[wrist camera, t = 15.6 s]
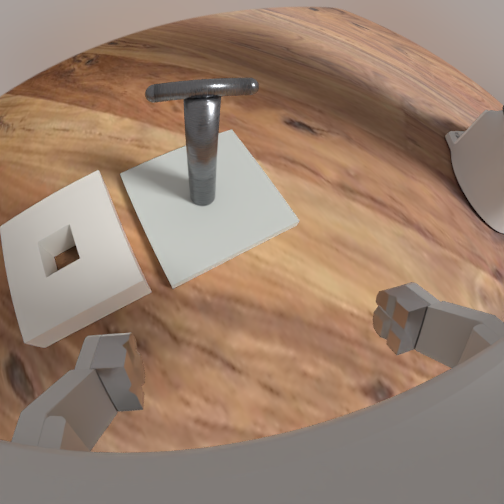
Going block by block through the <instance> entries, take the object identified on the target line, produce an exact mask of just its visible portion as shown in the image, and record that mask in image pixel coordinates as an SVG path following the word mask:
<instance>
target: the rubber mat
mask: <svg viewBox="0 0 504 504" xmlns="http://www.w3.org/2000/svg"><path fill="white" fill-rule="evenodd" d="M120 175H121V178H122V181H123V183H124V185H125V188H126V190H127V193H128V195H129V197H130V200H131V202H132V204H133V206H134V209H135V211H136V213H137V215H138V218H139V220H140V222H141V224H142V226H143V229H144V231H145V233H146V235H147V237H148V239H149V242H150V244H151V246H152V248H153V250H154V252H155V254H156V256H157V258H158V260H159V262H160V264H161V266H162V268H163V270H164V272H165V274H166V276H167V278H168V280H169V282H170V284H171V286H172V288H173V289H174V288H176V287H178V286H179V285H181V284H183V283H185V282H187V281H189V280H191V279H193V278H195V277H197V276H199V275H201V274H203V273H205V272H207V271H209V270H211V269H213V268H215V267H216V266H218V265H220V264H222V263H224V262H226V261H228V260H230V259H232V258H234V257H236V256H238V255H240V254H242V253H244V252H246V251H248V250H250V249H252V248H254V247H256V246H257V245H259V244H261V243H263V242H265V241H267V240H269V239H271V238H273V237H275V236H277V235H279V234H281V233H283V232H285V231H287V230H289V229H291V228H293V227H295V226H297V224H298V223H299V219H298V218H297V216H296V215H295V214H294V212H293V211H292V209H291V208H290V207H289V205H288V204H287V202H286V201H285V200H284V198H283V197H282V195H281V194H280V193H279V191H278V190H277V189H276V187H275V186H274V184H273V183H272V182H271V180H270V179H269V178H268V176H267V175H266V174H265V172H264V171H263V170H262V168H261V167H260V166H259V164H258V163H257V162H256V160H255V159H254V158H253V156H252V155H251V154H250V152H249V151H248V150H247V148H246V147H245V146H244V145H243V143H242V142H241V141H240V139H239V138H238V137H237V135H236V134H235V133H234V132H233V130H232V129H231V130H228V131H225V132H222V133H219V134H218V150H217V170H216V192H215V199H214V201H213V202H212V203H211V204H209V205H207V206H198V205H196V204H194V203H193V202H192V201H191V198H190V189H189V177H188V165H187V151H186V146H184V147H181V148H179V149H176V150H174V151H171V152H169V153H166V154H164V155H161V156H159V157H156V158H154V159H152V160H149V161H147V162H145V163H142V164H140V165H138V166H136V167H133V168H131V169H129V170H127V171H125V172H122V173H120Z"/></svg>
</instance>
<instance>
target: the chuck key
mask: <svg viewBox="0 0 504 504" xmlns="http://www.w3.org/2000/svg"><path fill="white" fill-rule="evenodd" d="M258 89H259V84H258V82H257V81H256V80H255V79H253V78H219V79H202V80H190V81H179V82H170V83H161V84H154V85H151V86H149V87H148V88H147V90H146V92H145V97H146V99H147V100H148V101H150V102H162V101H170V100H179V99H184V119H185V136H186V151H187V165H188V177H189V189H190V198H191V201H192V202H193V203H194V204H196V205H198V206H207V205H209V204H211V203H212V202H213V201H214V199H215V192H216V170H217V150H218V133H219V118H220V103H221V96H237V95H253V94H255V93H256V92H257V91H258Z"/></svg>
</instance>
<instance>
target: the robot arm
mask: <svg viewBox="0 0 504 504" xmlns="http://www.w3.org/2000/svg"><path fill="white" fill-rule="evenodd" d="M445 137H446V140H447V143H448V145H449V147H450V150H451V159H452V165H453V169H454V172H455V175H456V178H457V180H458V182H459V184H460V186H461V188H462V190H463V192H464V194H465V195H466V197H467V199H468V200H469V202H470V203H471V205H472V206H473V208H474V209H475V210H476V211H477V213H478V214H479V215H480V216H481V217H482V219H483V220H484V221H485V222H486V223H487V224H488V225H490V226H491V227H492V228H493V229H495V230H496V231H498V232H500V233H503V234H504V106H503V110H501V111H493V110H490V111H488V110H485V111H484V112H483V113H482V114H481V115H480V116H479V117H478V118H477V119H476V120H475V121H474V122H473V123H472V124H471V126H470V127H469V128H468V129H467V130H466V131H450V132H448V133H447V134H446V135H445ZM376 303H377V305H378V307H377V309H376V310H375V311H374V314H373V326H374V329H375V331H376V333H377V334H378V335H379V336H380V337H382V338H384V339H387V345H388V346H389V348H390V349H391V350H392V351H393V352H394V353H395V354H396V355H399V354H402V353H405V352H408V351H410V350H413V349H415V350H416V351H418V352H420V353H422V354H424V355H426V356H428V357H430V358H432V359H434V360H436V361H438V362H440V363H442V364H444V365H446V366H448V367H450V368H451V369H450V370H448V371H446V372H444V373H442V374H440V375H438V376H436V377H434V378H432V379H430V380H428V381H426V382H424V383H422V384H420V385H418V386H416V387H414V388H412V389H409V390H407V391H405V392H403V393H400V394H398V395H396V396H394V397H391V398H389V399H386V400H384V401H381V402H379V403H376V404H374V405H371V406H369V407H366V408H363V409H361V410H358V411H355V412H352V413H349V414H347V415H344V416H341V417H338V418H335V419H331V420H328V421H325V422H322V423H318V424H315V425H312V426H308V427H304V428H301V429H297V430H293V431H289V432H285V433H281V434H277V435H272V436H268V437H263V438H259V439H254V440H248V441H243V442H237V443H232V444H225V445H219V446H212V447H204V448H195V449H186V450H174V451H160V452H133V453H113V452H90V451H91V449H92V448H93V447H94V445H95V444H96V442H97V441H98V440H99V438H100V437H101V435H102V434H103V433H104V431H105V430H106V428H107V427H108V426H109V424H110V423H111V421H112V420H113V419H114V417H115V416H116V414H117V411H132V410H143V405H144V392H143V389H142V385H143V384H144V383H145V370H144V364H143V360H142V357H141V354H139V353H138V352H137V351H136V345H137V343H136V340H135V337H134V335H133V334H132V333H119V334H104V335H91V336H87V337H86V338H85V340H84V343H83V346H82V348H81V351H80V354H79V357H78V360H77V363H76V366H75V369H74V370H70V371H68V372H67V373H66V374H65V375H64V376H62V377H61V378H60V379H59V380H58V381H57V382H55V383H54V384H53V385H52V386H51V387H49V388H48V389H47V390H46V391H45V392H44V393H42V394H41V395H40V396H39V397H38V398H37V399H35V400H34V401H33V402H32V403H31V404H30V405H29V406H27V407H26V408H25V409H24V410H23V411H22V412H21V414H20V417H19V420H18V423H17V426H16V429H15V432H14V435H13V438H12V441H11V442H9V441H5V440H0V504H504V322H502V321H501V320H500V319H498V318H497V317H496V316H495V315H492V314H488V313H485V312H481V311H477V310H474V309H470V308H467V307H463V306H459V305H456V304H452V303H449V302H445V301H442V302H440V301H439V300H437V299H436V298H435V297H434V296H432V295H431V294H430V293H428V292H427V291H426V290H424V289H423V288H422V287H420V286H419V285H418V284H416V283H413V282H411V283H407V284H404V285H401V286H398V287H394V288H390V289H386V290H382V291H379V293H378V295H377V298H376Z"/></svg>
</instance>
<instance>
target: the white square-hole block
mask: <svg viewBox="0 0 504 504" xmlns="http://www.w3.org/2000/svg"><path fill="white" fill-rule="evenodd" d="M0 234H1V242H2V249H3V256H4V262H5V268H6V273H7V278H8V283H9V288H10V293H11V297H12V301H13V305H14V309H15V313H16V317H17V320H18V324H19V327H20V331H21V334H22V337H23V340H24V343H25V344H29V345H33V346H38V347H42V348H46V347H48V346H50V345H51V344H53V343H55V342H57V341H59V340H61V339H63V338H65V337H67V336H69V335H70V334H72V333H74V332H76V331H78V330H80V329H82V328H84V327H86V326H88V325H90V324H91V323H93V322H95V321H97V320H99V319H101V318H103V317H105V316H107V315H109V314H111V313H113V312H115V311H116V310H118V309H120V308H122V307H124V306H126V305H128V304H130V303H132V302H134V301H136V300H138V299H140V298H142V297H144V296H145V295H147V294H149V293H151V292H152V291H151V289H150V287H149V285H148V283H147V281H146V279H145V277H144V275H143V273H142V270H141V268H140V266H139V264H138V262H137V259H136V257H135V255H134V253H133V250H132V248H131V246H130V244H129V241H128V239H127V236H126V234H125V232H124V229H123V227H122V224H121V222H120V220H119V217H118V215H117V212H116V210H115V207H114V204H113V202H112V199H111V197H110V194H109V191H108V189H107V187H106V185H105V183H104V180H103V178H102V176H101V174H100V172H99V170H97V171H95V172H93V173H91V174H89V175H87V176H85V177H83V178H81V179H79V180H77V181H75V182H74V183H72V184H70V185H68V186H66V187H64V188H62V189H61V190H59V191H57V192H55V193H53V194H52V195H50V196H48V197H47V198H45V199H43V200H41V201H40V202H38V203H36V204H35V205H33V206H31V207H30V208H28V209H26V210H25V211H23V212H22V213H20V214H19V215H17V216H15V217H14V218H12V219H11V220H9V221H8V222H6V223H5V224H3V225H2V226H0ZM75 245H76V247H77V250H78V254H79V257H80V259H78V260H76V261H75V262H73V263H71V264H69V265H67V266H65V267H64V268H62V269H60V270H58V269H57V266H56V262H55V258H54V257H55V256H57V255H59V254H61V253H62V252H64V251H66V250H68V249H70V248H71V247H73V246H75Z"/></svg>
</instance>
